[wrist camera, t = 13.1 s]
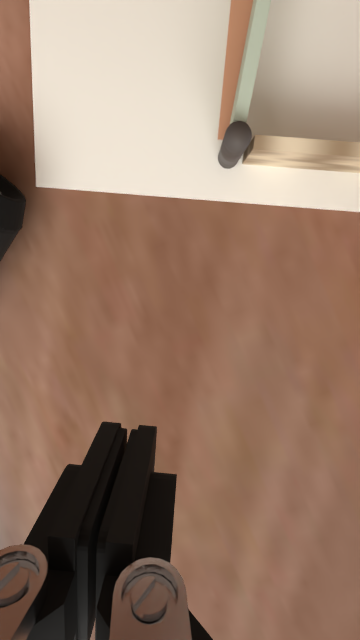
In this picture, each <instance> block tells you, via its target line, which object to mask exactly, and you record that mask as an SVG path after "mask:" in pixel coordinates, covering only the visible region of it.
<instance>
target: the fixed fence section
mask: <svg viewBox="0 0 360 640" xmlns="http://www.w3.org/2000/svg"><path fill="white" fill-rule="evenodd" d="M251 138H252V132H251V129H250V127H249V125H248V124H247V123H245V122H243V121H235V122H233V123H231V124H230V125H229V126H228V128H227V129H226V132H225V135H224V138H223V141H222V145H221V148H220V151H219V154H218V162H219V164H220V165H221V166H222V167H223V168H226V169H230V168H233V167H234V166H235V165H236V164H237V162H238V161H239V159H240V158H241V156H242V155H243V161H242V164H245V165H258V166H271V167H285V168H298V169H311V170H324V171H338V172H351V173H360V142H347V141H334V140H320V139H306V138H293V137H279V136H266V135H255V136H254V137H253V139H252V140H251Z"/></svg>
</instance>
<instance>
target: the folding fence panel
mask: <svg viewBox="0 0 360 640" xmlns="http://www.w3.org/2000/svg"><path fill="white" fill-rule="evenodd" d="M270 3H271V0H253V4H252V9H251V14H250V20H249V25H248V30H247V35H246V41H245V46H244V51H243V56H242V62H241V67H240V72H239V77H238V83H237V88H236V93H235V98H234V104H233V109H232V114H231V119H230V124H231V123H233V122H235V121H243V122H245V123H246V122H247V117H248V112H249V107H250V102H251V97H252V92H253V87H254V82H255V78H256V73H257V68H258V63H259V58H260V53H261V48H262V43H263V38H264V33H265V28H266V23H267V18H268V13H269V8H270Z"/></svg>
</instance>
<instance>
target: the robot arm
mask: <svg viewBox="0 0 360 640" xmlns="http://www.w3.org/2000/svg"><path fill="white" fill-rule="evenodd" d="M156 434H157V427H155V426H145V425H139V427H138V430H135V429H132V430H131V433H130V436H129V439H128V442H127V429H124V428H121V423H112V422H102V424H101V426H100V428H99V430H98V432H97V434H96V436H95V438H94V440H93V442H92V444H91V447H90V449H89V451H88V453H87V455H86V457H85V459H84V461H83V463H82V465H74V464H69V465H67V466H66V468H65V469H64V471H63V473H62V475H61V477H60V478H59V480H58V482H57V484H56V486H55V488H54V489H53V491H52V493H51V495H50V497H49V499H48V500H47V502H46V504H45V506H44V508H43V510H42V512H41V513H40V515H39V517H38V519H37V521H36V523H35V524H34V526H33V528H32V530H31V532H30V534H29V535H28V537H27V539H26V541H25V543H24V545H23V544H20V545H14V546H9V547H7V548H4V549H2V550H0V640H90V637H91V634H92V630H93V626H94V622H95V618H96V625H95V640H213V639H212V638H211V637H210V635H209V634H208V633H207V632H206V630H205V629H204V628H203V627H202V625H201V624H200V623H199V622H198V621H197V619H196V618H195V617H194V616H193V614H192V613H191V612H190V611H189V609H188V603H187V594H186V588H185V584H184V581H183V578H182V577H181V575H180V573H179V572H178V570H177V569H176V568H175V567H174V566H172V565H171V564H170V557H171V544H172V531H173V517H174V504H175V491H176V478H177V474H167V473H157V472H154V464H155V449H156Z"/></svg>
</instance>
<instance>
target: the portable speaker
mask: <svg viewBox="0 0 360 640" xmlns="http://www.w3.org/2000/svg"><path fill="white" fill-rule="evenodd" d="M25 204H26V199H25V197H24V195H23V194H22V193H21V192H20V191H19V190H18V189H17V188H16V187H15V186H14V185H13V184H12V183H10V182H9V181H8V180H7V179H5V178H4V177H3V176H2V175H0V261H1V259H2V257H3V256H4V254H5V253H6V251H7V249H8V248H9V246H10V244H11V243H12V241H13V240H14V238H15V236H16V235H17V233H18V231H19V230H20V229H21V228H22V224H23V217H24V210H25Z"/></svg>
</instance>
